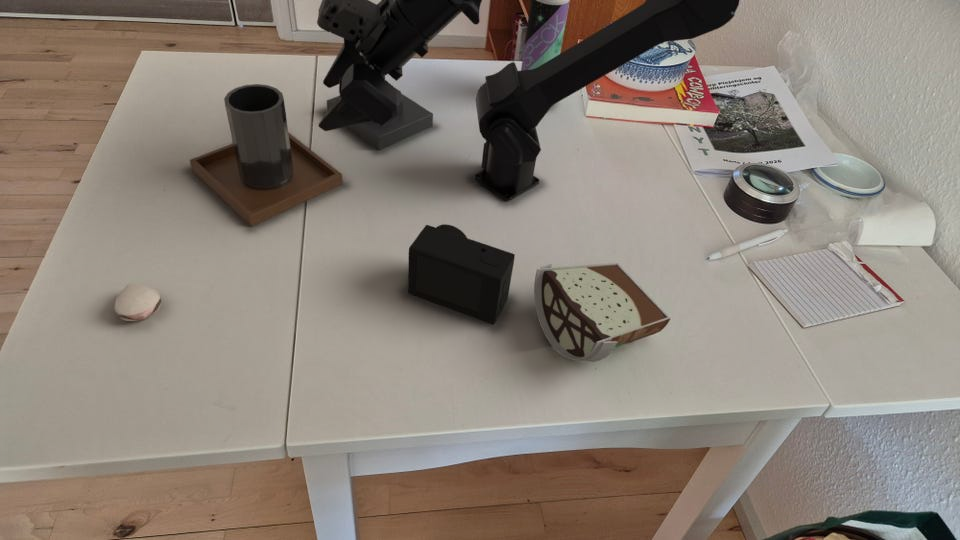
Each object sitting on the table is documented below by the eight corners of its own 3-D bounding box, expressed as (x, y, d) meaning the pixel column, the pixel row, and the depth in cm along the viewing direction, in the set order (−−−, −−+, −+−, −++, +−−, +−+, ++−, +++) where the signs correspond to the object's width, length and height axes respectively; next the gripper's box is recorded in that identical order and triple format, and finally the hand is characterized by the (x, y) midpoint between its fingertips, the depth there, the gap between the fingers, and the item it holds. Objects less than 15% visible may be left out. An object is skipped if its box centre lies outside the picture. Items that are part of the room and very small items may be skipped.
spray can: (513, 91, 107) (531, -37, 93) (546, 90, 108) (568, -37, 94) (521, 109, 103) (540, -22, 89) (555, 108, 104) (579, -21, 90)
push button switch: (432, 126, 98) (433, 102, 95) (379, 150, 92) (378, 125, 90) (381, 92, 103) (380, 69, 101) (327, 113, 98) (325, 89, 95)
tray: (342, 184, 86) (342, 173, 85) (251, 226, 79) (249, 215, 78) (281, 135, 93) (279, 125, 92) (191, 170, 86) (189, 159, 85)
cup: (296, 186, 84) (286, 110, 77) (242, 193, 83) (226, 116, 75) (289, 156, 89) (279, 81, 81) (238, 162, 87) (222, 86, 79)
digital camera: (512, 292, 75) (520, 246, 70) (495, 325, 71) (502, 279, 67) (429, 263, 77) (431, 216, 72) (408, 293, 74) (408, 247, 69)
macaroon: (124, 332, 67) (117, 315, 65) (110, 300, 69) (102, 283, 68) (168, 315, 69) (162, 298, 67) (152, 285, 71) (146, 268, 70)
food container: (593, 296, 78) (521, 310, 73) (609, 254, 74) (534, 266, 70) (658, 371, 70) (581, 391, 65) (680, 328, 66) (600, 346, 62)
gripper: (360, -71, 75) (275, 23, 81) (356, 5, 62) (256, 109, 69) (430, -1, 81) (346, 80, 88) (440, 81, 69) (341, 168, 75)
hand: (323, 105), depth 80 cm, fingers open, 9 cm apart
